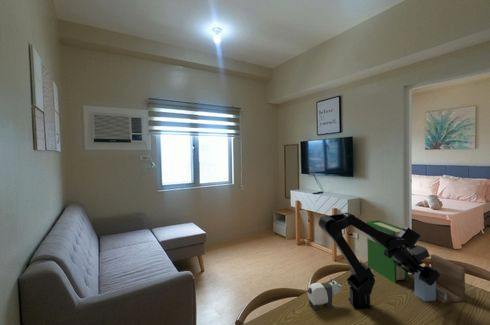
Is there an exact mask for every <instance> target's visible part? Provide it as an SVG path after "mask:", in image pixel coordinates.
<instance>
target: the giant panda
mask: <svg viewBox="0 0 490 325" xmlns="http://www.w3.org/2000/svg"><path fill="white" fill-rule="evenodd" d="M342 288H343V286H342V284H339V283H338V282H337V281H335V280H333V279H332V278H331V279H330V282H314V283H311V284H310V285H309V286H308V287H307V299H308V303H309V305H310V306H312V310H313V311H319V310H320V307H319V305H323V304H325V305H326V308H328V309H331V308H332V309H333V308H334V306H333V296H334V295H336V294H338V293H339V292H340V291H341V289H342Z"/></svg>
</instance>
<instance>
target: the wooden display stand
mask: <svg viewBox="0 0 490 325" xmlns="http://www.w3.org/2000/svg"><path fill="white" fill-rule="evenodd" d="M430 267H432V268H434V269H436V270H437V271H438V272H439V273H440V276H439V277H438V278H437V280H436V300H437V301H440V302H441V303H442V304H444V303H445V304H446V303H452V302H453V303H454V302H465V301H466V272H465V270H466V269H465V267H462V266H460V265H458V264H456V263H454V262H451V261H450V260H447V259H445V258H443V257H440V256H439V255H437V254H430Z"/></svg>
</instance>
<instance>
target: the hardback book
mask: <svg viewBox="0 0 490 325" xmlns="http://www.w3.org/2000/svg"><path fill="white" fill-rule="evenodd" d="M366 223H367V224H368V225H370V226H372V227H374V228H375V229H378V230H381V231H384V232H386V233H388V234H394V235H396V236H398V234H399V233H400V232H401V231H402V230H403V228H404V227H400V226H397V225H393V224H391V223H388V222H387V221H383V220H380V219H379V220H371V221H370V220H369V221H366ZM366 236H367V237H366V238H367V242H366V243H367V266H368V267H369V268H370V269H372V270H374V271H375V272H376V273H378V274H379V275H380V276H381V275H382V276H383V277H384V278H385V279H388V280H389V281H391V282H392V283H394V284H397V281H401V280H404V281H406V282H408V281H409V275H408V272H407V271H405V270H403V269H402V266H401V265H400V266H401V267H398V266H397V265H395V264H394V263H393V259H394V257H393V256H392V257H391V258H388V257H387V256H385V255H384V250H385V249H386V248H385V247H383V246H381V245H379V244H378V243H376V242H375V241H374V240H373V239H372V238H371V237H370V236H369V235H367V234H366ZM402 246H403V245H402ZM403 247H404V248H405V249H406V250H407V251H408V248H406V247H405V246H403Z"/></svg>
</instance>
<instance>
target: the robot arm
mask: <svg viewBox="0 0 490 325" xmlns="http://www.w3.org/2000/svg"><path fill="white" fill-rule="evenodd" d="M318 220H319V221H318V226H319V228H321V230H323V232H324V233H325V234H326V235H327V236H328V237H330V239H331V240H332V241H333V243H334V244H335V246H336V247H337V249H338V251H339V252H340V254H341V255H342V257H343V258H344V260H345V262H346V263H347V264H348V266H349V271H350V275H349V276H348V278H346V282H347V285H349V298H348V301H349V302H350V305H352V307H353V310H370V309H372V306H371V295H372V292H373V289H374V285H375V282H376V279H375V277H376V275H375V274H373V272H372V270H371V268H370V267H368V265H366V264H365V263H364V262H362V261H359V259H358V257H357V256H356V254H355V252H354V251H353V250H352V248H351V246H350V245H349V243H348V242H347V240H346V239H345V237H344V234H343V230H345V229H346V228H348V227H349V226H352V227H354V228H356V229H358V230H359V231H361V232H362V233H365V234H366V236H367V235H369V236H370V237H371V238H372V239H373V240H374V241H375V242H376V243H378V244H379V245H381V246H383V247H385V248H386V249H385V250H384V255H385V256H387V257H388V258H391V257H392V256H393V257H394V259H393V263H394V264H395V265H397V266H398V267H401V266H402V269H403V270H405V271H407V272H409V273H411V274H412V275H414V272H415V273H418V272H420V274H419V280H421V281H423V282H424V283H426V284H428V285H429V286H431V285H432V284H434V283H435V281H436V280H437V278H438V277H439V276H440V273H439V272H438V271H437V270H436V269H434V268H432V267H431V265H427V266H425V265H424V266H423V265H422V264H424V262H423V261H424V260H426V259H427V258H429V257H430V258H431V254H430V253H429V251H428V248H426V247H424V246H421V245H418V244H417V242H419V240H420V239H421V235H420V234H419V233H418V232H416V231H415V230H414V229H411V228H410V227H409V226H406V225H404V227H402V228H403V230H402V231H401V232H400V233H399V234H398V236H396V235H394V234H388V233H386V232H384V231H381V230H378V229H375V228H374V227H372V226H370V225H368V224H367V222H365V221H363V220H362V219H360V218H358V217H357V216H356V215H354V214H352V213H350V212H343V213H337V214H332V215H322V216H321V217H320V218H319V219H318ZM402 245H403V246H405V247H406V248H408V250H409V251H407V250H406V249H405V248H404V247H403V246H402ZM400 265H401V266H400ZM422 269H423V270H422ZM417 270H418V271H417Z"/></svg>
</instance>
